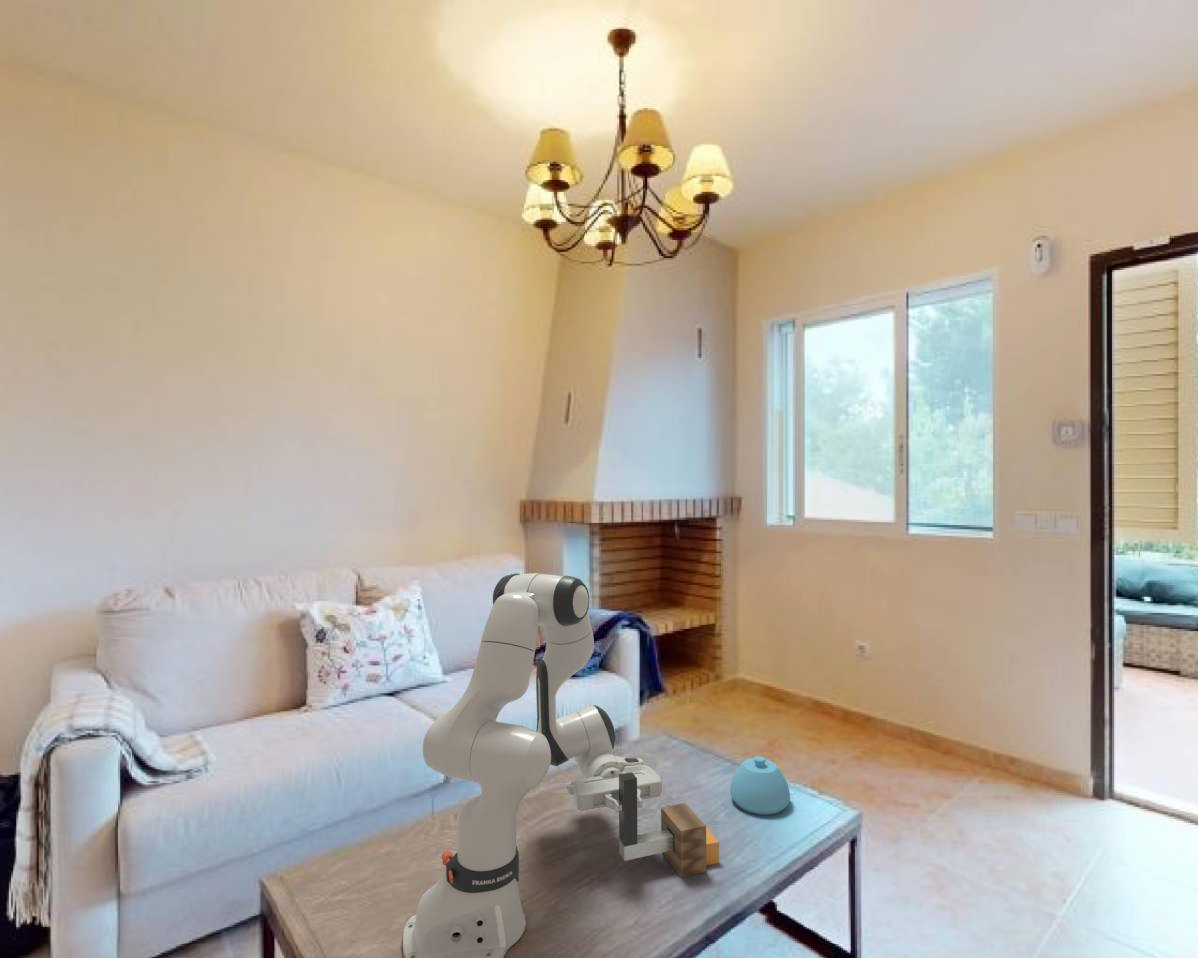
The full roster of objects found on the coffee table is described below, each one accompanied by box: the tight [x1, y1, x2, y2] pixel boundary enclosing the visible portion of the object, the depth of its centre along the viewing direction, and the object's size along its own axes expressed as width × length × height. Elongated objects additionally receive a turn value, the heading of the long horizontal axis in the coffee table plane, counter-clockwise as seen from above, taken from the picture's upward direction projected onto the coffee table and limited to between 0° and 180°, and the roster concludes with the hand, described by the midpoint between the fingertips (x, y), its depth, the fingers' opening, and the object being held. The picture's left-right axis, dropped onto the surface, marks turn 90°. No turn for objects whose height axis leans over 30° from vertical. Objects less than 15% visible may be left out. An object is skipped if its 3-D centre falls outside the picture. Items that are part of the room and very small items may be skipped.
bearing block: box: [660, 802, 707, 879], centre depth 141 cm, size 6×10×10 cm, turn 19°
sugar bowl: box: [729, 755, 791, 816], centre depth 166 cm, size 15×15×12 cm
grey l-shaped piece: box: [618, 772, 675, 862], centre depth 139 cm, size 16×3×17 cm, turn 109°
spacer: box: [706, 826, 720, 866], centre depth 143 cm, size 4×6×5 cm, turn 15°
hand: (629, 806), depth 136 cm, fingers closed on grey l-shaped piece, 3 cm apart
